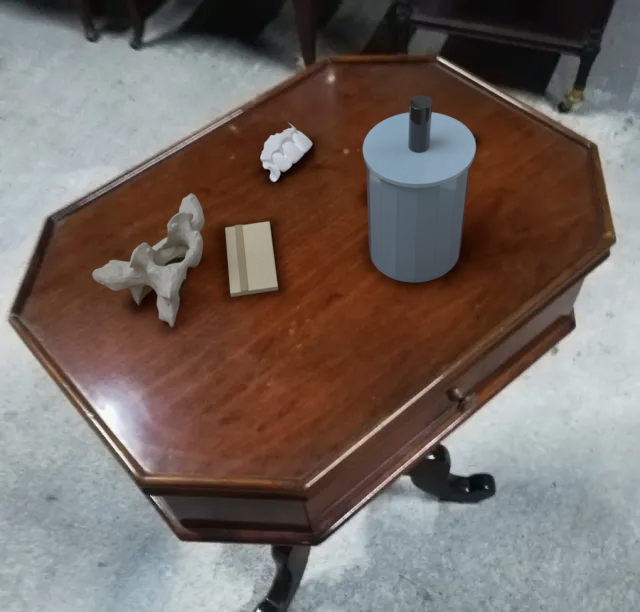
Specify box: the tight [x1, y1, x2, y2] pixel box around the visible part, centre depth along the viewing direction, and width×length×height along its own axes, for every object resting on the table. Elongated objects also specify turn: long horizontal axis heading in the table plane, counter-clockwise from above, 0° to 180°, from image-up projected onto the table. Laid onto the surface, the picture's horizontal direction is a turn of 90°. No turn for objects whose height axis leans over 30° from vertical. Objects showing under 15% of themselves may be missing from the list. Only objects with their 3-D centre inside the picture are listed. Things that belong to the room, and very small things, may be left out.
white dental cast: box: [260, 122, 313, 183], centre depth 88 cm, size 6×8×4 cm
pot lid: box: [362, 95, 477, 188], centre depth 67 cm, size 10×10×6 cm
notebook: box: [224, 221, 279, 298], centre depth 80 cm, size 5×10×1 cm, turn 7°
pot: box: [366, 166, 471, 283], centre depth 74 cm, size 10×10×12 cm
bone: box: [91, 192, 206, 328], centre depth 77 cm, size 9×14×8 cm, turn 155°
